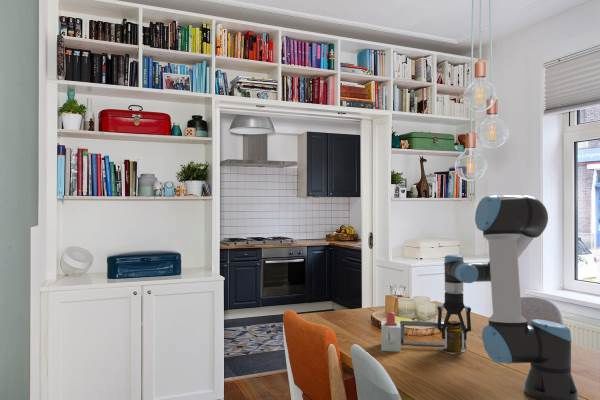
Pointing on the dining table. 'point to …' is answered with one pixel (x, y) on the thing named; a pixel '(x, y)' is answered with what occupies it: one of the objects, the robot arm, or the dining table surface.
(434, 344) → the handrail
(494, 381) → the dining table surface
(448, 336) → the condiment
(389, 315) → the plunger
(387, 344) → the cabinet
